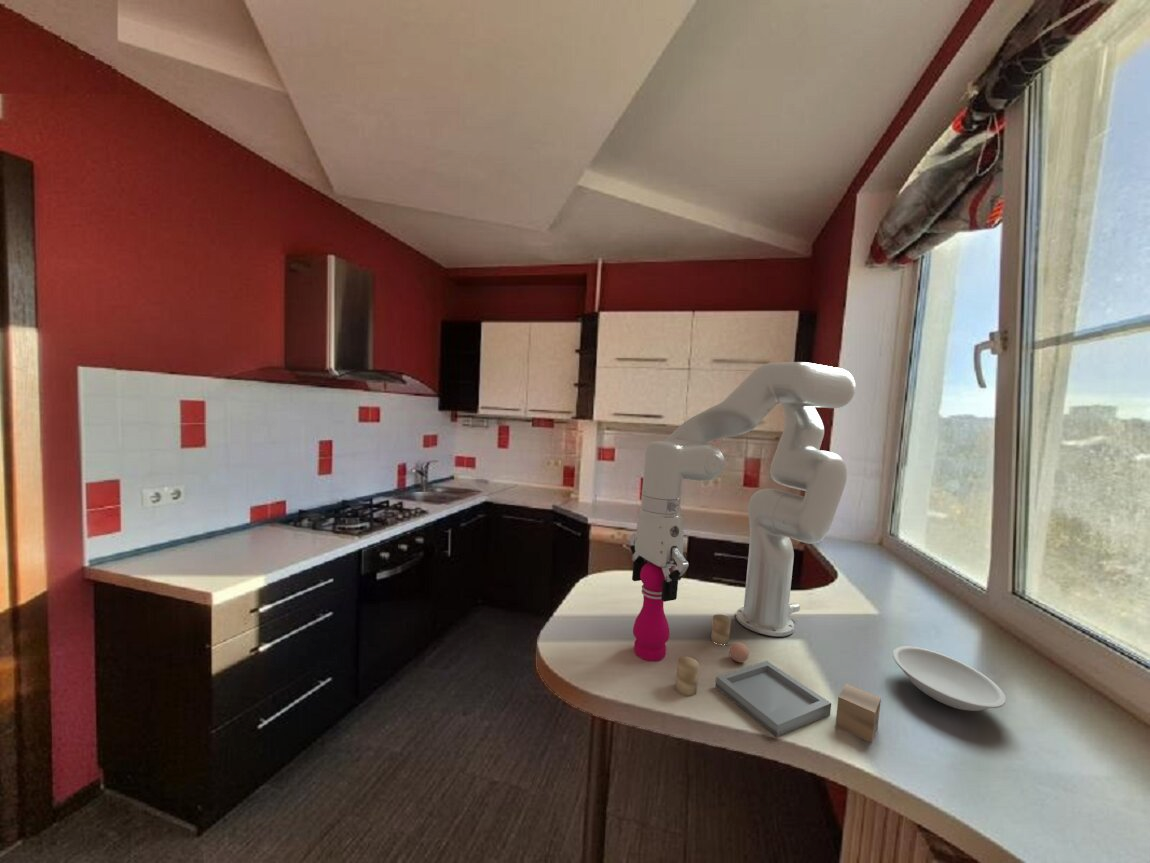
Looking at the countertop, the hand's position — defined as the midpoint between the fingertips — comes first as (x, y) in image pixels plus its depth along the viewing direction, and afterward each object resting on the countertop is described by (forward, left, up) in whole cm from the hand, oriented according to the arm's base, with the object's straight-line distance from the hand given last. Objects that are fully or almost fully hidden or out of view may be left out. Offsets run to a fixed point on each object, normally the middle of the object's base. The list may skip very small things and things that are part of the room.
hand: (653, 589), depth 90 cm
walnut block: (-19, +30, -13) cm, 38 cm away
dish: (-41, +32, -13) cm, 54 cm away
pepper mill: (0, 0, -13) cm, 13 cm away
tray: (-11, +20, -13) cm, 26 cm away
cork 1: (+1, +12, -13) cm, 18 cm away
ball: (-15, +9, -11) cm, 21 cm away
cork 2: (-17, +2, -13) cm, 22 cm away
